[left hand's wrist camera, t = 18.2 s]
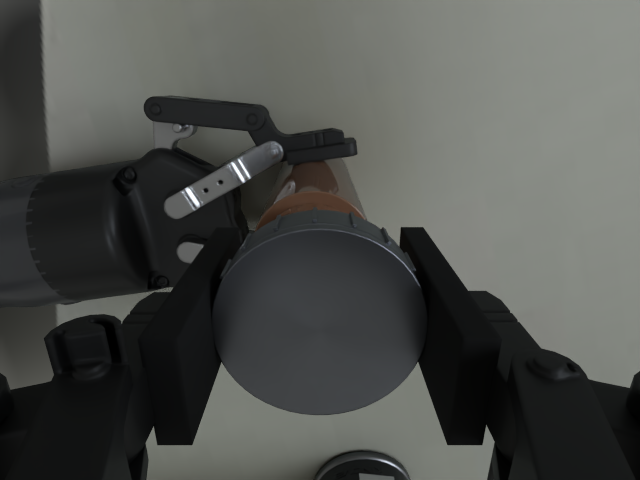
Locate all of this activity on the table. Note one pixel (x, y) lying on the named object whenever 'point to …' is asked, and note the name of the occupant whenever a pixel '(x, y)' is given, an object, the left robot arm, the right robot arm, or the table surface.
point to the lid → (319, 313)
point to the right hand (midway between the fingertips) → (359, 195)
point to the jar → (312, 190)
